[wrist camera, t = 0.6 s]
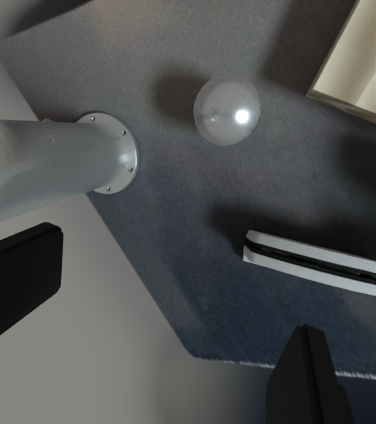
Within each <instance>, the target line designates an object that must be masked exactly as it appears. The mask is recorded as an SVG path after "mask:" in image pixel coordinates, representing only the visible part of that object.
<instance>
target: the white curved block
mask: <svg viewBox="0 0 376 424" xmlns="http://www.w3.org/2000/svg"><path fill="white" fill-rule="evenodd" d="M246 237H247V238H248V239H247V240H248V241H249V242H250V243H252V244H253V245H252V244H248V243H246V246H245V245H244V250H243V261H247V262H250V263H254V264H258V265H261V266H265V267H269V268H272V269H275V270H279V271H282V272H285V273H289V274H292V275H295V276H299V277H302V278H306V279H309V280H313V281H317V282H321V283H324V284H328V285H332V286H336V287H340V288H344V289H348V290H352V291H356V292H361V293H366V294H370V295H375V296H376V278H374V277H372V276H375V277H376V261H375V260H372V259H369V258H365V257H361V256H357V255H353V254H349V253H344V252H340V251H336V250H332V249H328V248H324V247H320V246H315V245H311V244H307V243H303V242H299V241H295V240H291V239H286V238H282V237H278V236H274V235H270V234H266V233H262V232H257V231H253V230H249V231H248V233H247V235H246ZM260 247H261V249H260ZM289 255H290V256H294V257H298V258H302V259H306V260H309V261H313V262H317V263H313V264H312V263H308V262H304V261H300V260H296V259H293V258H291V257H290V256H289ZM370 275H371V276H370Z"/></svg>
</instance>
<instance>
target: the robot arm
mask: <svg viewBox="0 0 376 424" xmlns="http://www.w3.org/2000/svg"><path fill="white" fill-rule="evenodd" d="M125 132H126V134H125ZM138 166H139V151H138V146H137V143H136V140H135V138H134V136H133V134H132V132H131V131H130V129H129V128H128V127H127V126H126V124H124V123H123V122H122V121H121V120H120V119H118V118H116V117H115V116H113V115H110V114H106V113H91V114H87V115H85V116H83V117H82V118H80V119H79V120H78V121H77V122H76V123H70V122H54V121H52V120H50V119H48V118H45V119H44V120H43V121H17V120H0V222H3V221H5V220H7V219H10V218H13V217H15V216H18V215H21V214H23V213H27V212H30V211H33V210H36V209H38V208H42V207H44V206H48V205H51V204H53V203H56V202H59V201H62V200H65V199H68V198H71V197H74V196H77V195H80V194H83V193H86V192H89V191H92V190H93V191H96V192H98V193H103V194H112V193H116V192H119V191H121V190H123V189H124V188H126V187H127V186H128V185H129V184H130V183H131V182H132V181H133V179H134V178H135V176H136V173H137V171H138ZM132 169H133V170H132ZM62 254H63V232H62V231H61V228H60V227H58V226H56V225H53V224H51V223H48V222H44V223H41V224H39V225H36V226H34V227H31V228H29V229H26V230H24V231H22V232H19V233H17V234H14V235H12V236H9V237H7V238H4V239H2V240H0V335H1V334H3V333H4V332H5V331H6V330H8V329H9V328H11V327H12V326H13V325H15V324H16V323H17V322H18V321H20V320H21V319H22V318H24V317H25V316H26V315H28V314H29V313H30V312H32V311H33V310H34V309H36V308H37V307H38V306H40V305H41V304H42V303H44V302H45V301H46V300H48V299H49V298H50V297H52V296H53V295H54V294H55V293H57V291H58V290H59V288H60V286H61V272H62ZM266 424H355V422H354V419H353V415H352V412H351V408H350V405H349V401H348V398H347V394H346V392H345V389H344V388H343V387H342V385H339V384H338V383H337V379H336V375H335V371H334V367H333V364H332V360H331V356H330V352H329V348H328V344H327V341H326V337H325V334H324V332H323V331H322V330H319V329H317V328H314V327H312V326H309V325H307V324H304V325H303V326H302V327H300V326H296V328H295V329H294V331H293V333H292V335H291V337H290V339H289V341H288V343H287V345H286V347H285V349H284V351H283V353H282V355H281V356H280V358H279V360H278V362H277V364H276V366H275V368H274V370H273V372H272V374H271V376H270V378H269V380H268V384H267V391H266Z"/></svg>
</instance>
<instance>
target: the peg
mask: <svg viewBox="0 0 376 424" xmlns="http://www.w3.org/2000/svg"><path fill="white" fill-rule="evenodd" d="M260 116H261V102H260V98H259V95H258V92H257V90H256V89H255V87H254V86H253V84H252V83H251V82H250V81H249V80H247V79H246V78H244V77H242V76H240V75H237V74H222V75H218V76H216V77H214V78H212V79H210V80H209V81H208V82H207V83H206V84H205V85H204V86H203V87H202V88H201V90H200V91H199V93H198V95H197V97H196V100H195V103H194V121H195V124H196V126H197V129H198V130H199V132H200V133H201V135H202V136H203V137H204V138H205V139H207V140H208V141H210V142H212V143H214V144H217V145H223V146H227V145H233V144H236V143H239V142H241V141H243V140H245V139H246V138H247V137H249V136H250V135H251V134H252V133H253V131H254V130H255V129H256V127H257V125H258V123H259V120H260Z"/></svg>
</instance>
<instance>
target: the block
mask: <svg viewBox="0 0 376 424" xmlns="http://www.w3.org/2000/svg"><path fill="white" fill-rule="evenodd" d="M306 97H308V98H311V99H313V100H316V101H318V102H321V103H323V104H326V105H329V106H331V107H334V108H336V109H339V110H341V111H344V112H346V113H349V114H351V115H354V116H356V117H359V118H362V119H364V120H367V121H369V122H372V123H374V124H376V0H356V1H355V3H354V5H353V7H352V8H351V10H350V12H349V14H348V16H347V18H346V20H345V22H344V24H343V26H342V27H341V29H340V31H339V33H338V35H337V37H336V39H335V41H334V43H333V45H332V47H331V48H330V50H329V52H328V54H327V56H326V58H325V60H324V62H323V64H322V66H321V67H320V69H319V71H318V73H317V75H316V77H315V79H314V81H313V83H312V85H311V87H310V88H309V90H308V92H307V94H306Z"/></svg>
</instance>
